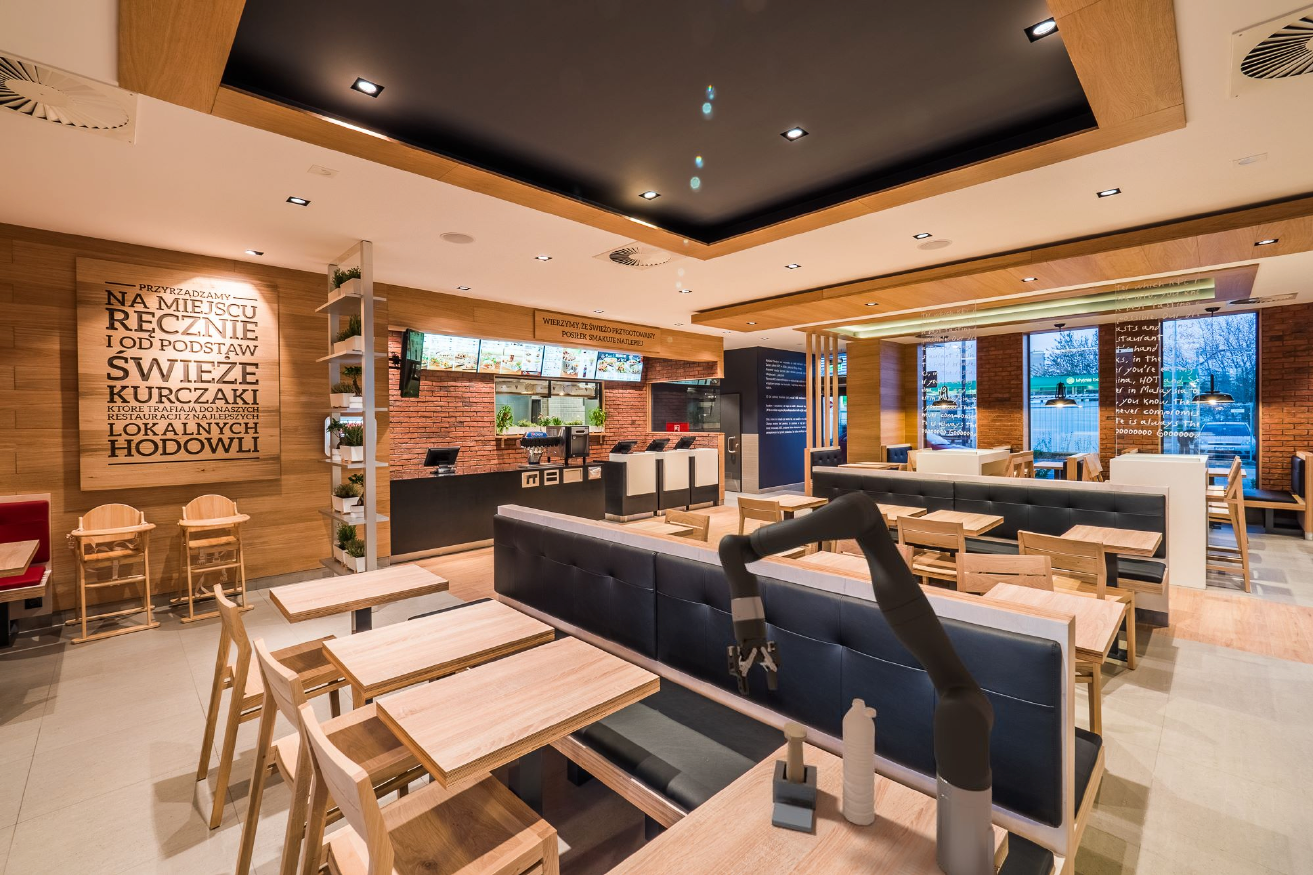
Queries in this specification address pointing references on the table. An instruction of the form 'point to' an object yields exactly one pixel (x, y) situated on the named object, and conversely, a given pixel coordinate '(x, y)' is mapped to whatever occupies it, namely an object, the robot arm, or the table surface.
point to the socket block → (795, 787)
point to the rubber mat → (792, 817)
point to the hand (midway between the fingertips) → (759, 691)
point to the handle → (795, 751)
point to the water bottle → (858, 764)
